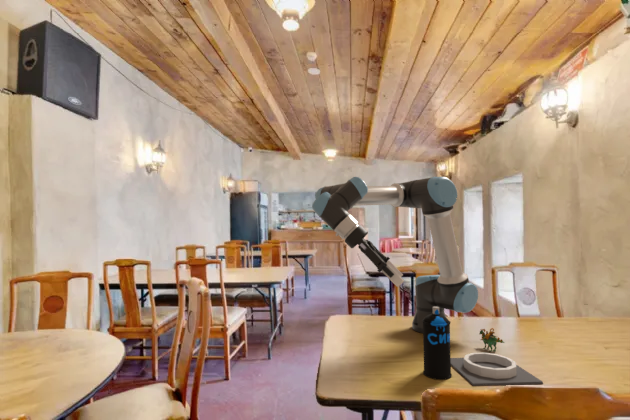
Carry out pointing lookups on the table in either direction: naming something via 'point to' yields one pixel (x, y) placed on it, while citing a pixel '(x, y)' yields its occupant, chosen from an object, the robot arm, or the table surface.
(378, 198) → the robot arm
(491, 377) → the can holder
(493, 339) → the figurine
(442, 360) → the aerosol can
